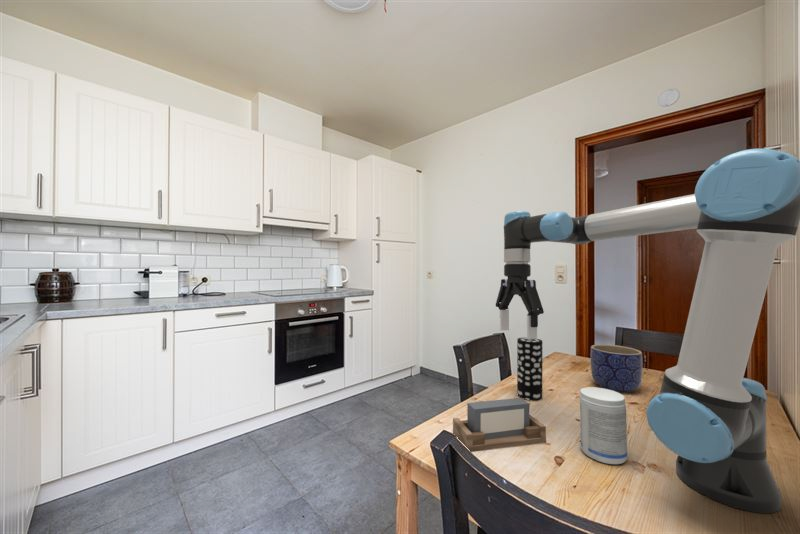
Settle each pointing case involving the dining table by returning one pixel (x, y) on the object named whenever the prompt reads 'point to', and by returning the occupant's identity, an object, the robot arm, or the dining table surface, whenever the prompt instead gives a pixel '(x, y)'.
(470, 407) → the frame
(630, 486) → the dining table surface
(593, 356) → the planter
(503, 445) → the tray
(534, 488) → the dining table surface
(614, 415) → the supplement tub
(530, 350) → the spotted tube
